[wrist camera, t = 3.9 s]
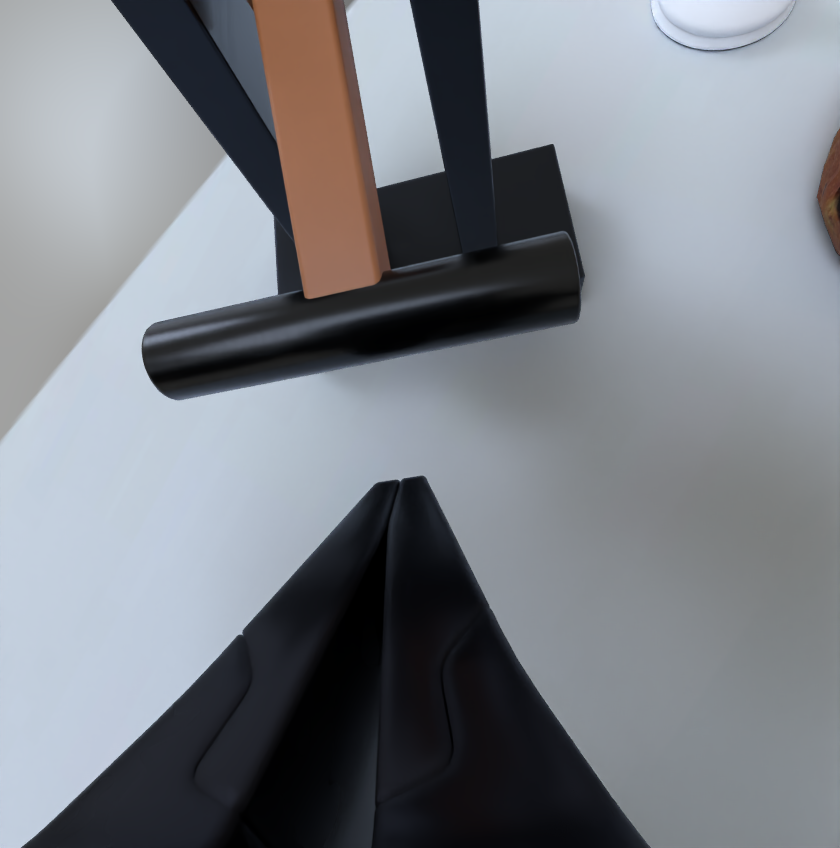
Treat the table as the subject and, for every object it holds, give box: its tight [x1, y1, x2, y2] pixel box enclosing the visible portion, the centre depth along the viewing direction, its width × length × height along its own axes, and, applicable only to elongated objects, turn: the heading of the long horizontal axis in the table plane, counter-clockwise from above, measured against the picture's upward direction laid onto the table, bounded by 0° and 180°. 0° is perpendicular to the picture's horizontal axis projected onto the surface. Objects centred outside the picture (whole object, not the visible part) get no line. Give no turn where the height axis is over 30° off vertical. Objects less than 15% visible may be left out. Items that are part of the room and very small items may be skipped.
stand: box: [111, 0, 585, 295], centre depth 12 cm, size 5×10×14 cm, turn 97°
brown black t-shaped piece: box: [142, 0, 581, 400], centre depth 7 cm, size 9×6×2 cm, turn 7°
